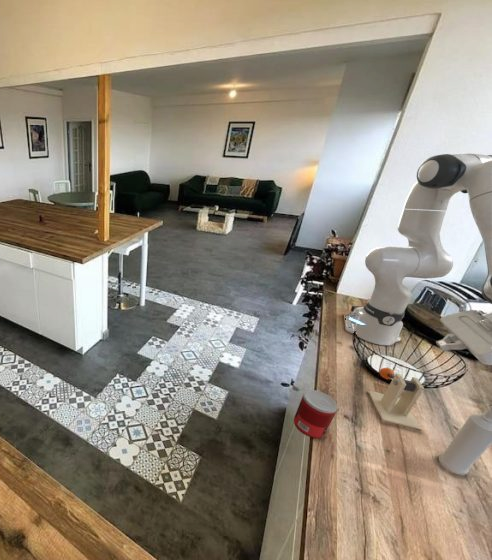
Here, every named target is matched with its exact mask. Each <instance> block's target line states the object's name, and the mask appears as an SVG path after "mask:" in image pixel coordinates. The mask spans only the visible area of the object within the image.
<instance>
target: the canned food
mask: <svg viewBox="0 0 492 560" xmlns="http://www.w3.org/2000/svg"><path fill="white" fill-rule="evenodd" d="M337 411H338V404H337V402H336V401H335V400H334V398H332V397H331V396H330V395H328V394H326V393H324V392H322V391H320V390H315V389H309V390H305V391H304V393H303V394H302V397H301V399H300V402H299V404H298V407H297V409H296V413H295V414H294V417H293V424H294V426H295V428H296V429H297V430H298V431H299V432H300V433H302V434H303V435H304V436H306V437H309V438H312V439H321V438H323V437H324V436H325V435H326V433H327V432H328V429H329V427H330V425H331V423H332V421H333V420H334V417H335V415H336V413H337Z"/></svg>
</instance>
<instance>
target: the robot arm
mask: <svg viewBox="0 0 492 560" xmlns="http://www.w3.org/2000/svg"><path fill="white" fill-rule="evenodd" d="M415 178H416V179H415V180H416V182H415V183H414V184H413V185H412V187H411V189H410V191H409V193H408V195H407V197H406V200H405V202H404V204H403V207H402V211H401V214H400V218H399V221H398V224H397V231H398V233H399V234H400V235H401V236H403V237H404V238H407V242H408V247H401V246H382V247H375V248H372V249H370V251H369V252H368V253H367V254H366V256H365V260H364V264H365V268H366V269H367V270H368V271H369V272H370V273H371V274H372V276H373V279H374V288H373V291H372V293H371V296H370V298H367V300H366V302H365V304H364V305H363V306H362V305H352V306H351V308H350V312H349V313H348V314H349V316H346V317H345V314H344V315H343V320H344V328H345V331H346V332H348V333H349V334H353V333H354V331H356V332H357V336H356V337H357V338H360V339H362V340H363V341H365V342H368V343H371V344H375V345H379V346H393V345H394V344H395V343H398V342H401V341H402V338H401V336H400V334H401V331H402V328H403V326H404V323H403V321H402V320H403V318H405V314H406V310H407V309H406V308H407V307H408V305H409V303H410V301H411V299H412V298H413V295H412V291H411V290H410V289H409V287H407V286H406V285H405V284H403V281H404V279H405V278H415V279H425V280H427V279H436V278H444V277H446V276H448V274H449V273H450V272H451V271H452V270H453V267H454V260H453V258H452V256H451V255H450V254H449V253H448V252H447V251H446V250H445V249H444V247H443V244H442V241H441V230H442V226H443V223H444V219H445V217H446V212H447V209H448V206H449V203H450V200H451V199H452V197H453V196H454V195H455V194H457V193H459V192H460V193H462V194H467V196H468V203H469V208H470V212H471V215H472V217H473V220H474V222H475V224H476V227H477V229H478V231H479V234H480V237H481V239H482V241H483V245H484V252H485V259H486V266H487V267H486V268H487V276H486V279H485V280H484V282H483V283H482V286H481V288H480V289H481V290H480V292H481V296H482V298H483V299H484V300H485V301H486V302H487V303H489V304H491V305H492V154H487V155H486V154H481V153H480V154H479V153H457V154H451V153H444V154H437V155H433V156H430V157H429V158H426V159H425V160H424V161H423V162H422V163H421V164H420V166H419V167H418V169H417V171H416V176H415ZM345 318H346V320H345ZM439 321H440V323H441V324H442V325H443V326H444V328H445V329H446V330H447V331H448V332H449V333H448V334H446V335H445V336H444V337H443V338H441V339H439V340H436V341H435V343H436V345H437V346H438V348H440V350H442V351H443V352H447V351H462V350H468V351H469V352H470V353H471V354H472V355H473V356H474V357H475V359H477V360H478V361H479V362H480V363H481V364H482V365H485V366H492V311H490V312H487V313H485V312H484V311H483V310H480V309H479V310H478V309H470V310H462V311H458V312H454V313H451V314H447V315H444V316H442V317H441V318H440V319H439ZM353 335H354V334H353Z"/></svg>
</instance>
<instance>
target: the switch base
mask: <svg viewBox="0 0 492 560" xmlns="http://www.w3.org/2000/svg"><path fill="white" fill-rule="evenodd" d="M394 374H395V376H394V378H393V379H391V381H390V383H389V385H388V387H387V389H386V390H385V391H384V393H381V392H376V391H374V390H373V391H372V390H368V391H367V392H368V394H369V397H370V399H371V401H372V402H373V403H372V404H373V405H374V407H375V408H376V411H377V413H378V414H379V416H380V419H381V420H382V421H383V422H388V423H390V424H394V425H395V424H396V425H399V426H403V427H407V428H411V429H415V430H419V431H421V430H422V427H421V426H420V424H419V422H418V421H417V419H416V417H415V416H414V414H413V412H412V411H411V410H412V408H414V406H415V404H416V403H417V401H418V399H419V397H421V394H422V393H423V391H424V390H425V386H423V384H422V383H421V382H420V380H419V379H418V377H414V376H412V378H411V379H410V381H411V382H413V383H414V384H415V388H414V392H412V391H407V390H404V388H405V386H406V385H407V384H406V383H405V381H404V380H405V379H404V378H403V376H402V375H401V373H400V374H399V373H394ZM403 379H404V380H403Z"/></svg>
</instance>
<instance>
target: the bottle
mask: <svg viewBox="0 0 492 560" xmlns="http://www.w3.org/2000/svg"><path fill="white" fill-rule="evenodd" d="M491 445H492V405H490V406H489V408H488V409H487V410H486V412H485V413H481V414H478V413H472V414H470V415H469V417H468V418H467V419H466V421H465V422H464V424H463V425H462V427H461V428H460V429H459V430H458V432H457V433H456V435H455V436H454V438H453V439H452V441H451V442H450V444H449V445H448V446H447V448H446V449H445V450H444V452H443V453H441V454H440V455H439V456H438V461H439V463H440V464H441V465H442V466H443V467H444V468H445V469H446V470H448V471H450V472H452V473H454V474H457V475H459V476H466V475H467V474H468V473H469V471H470V468H471V467H472V466H473V465H474V464H475V462H477V460H478V459H479V458H480V457H481V456H482V455H483V454H484V453H485V452H486V450H487V449H488V448H490V446H491Z"/></svg>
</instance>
